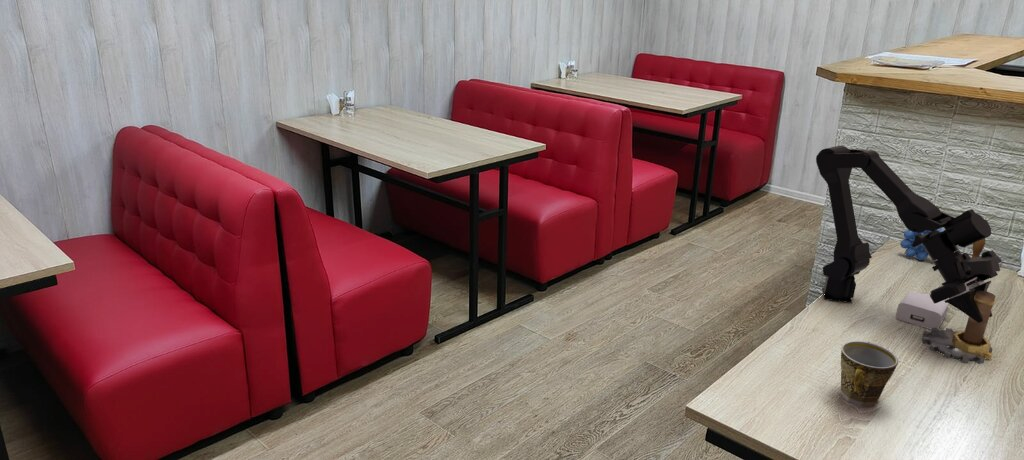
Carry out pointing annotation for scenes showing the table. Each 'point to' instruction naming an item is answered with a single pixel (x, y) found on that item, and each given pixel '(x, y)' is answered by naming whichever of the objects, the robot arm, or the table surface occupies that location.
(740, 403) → the table surface
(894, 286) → the table surface
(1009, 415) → the table surface
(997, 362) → the table surface
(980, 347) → the sprocket
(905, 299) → the charger
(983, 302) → the peg
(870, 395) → the ceramic cup
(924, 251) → the grapes
